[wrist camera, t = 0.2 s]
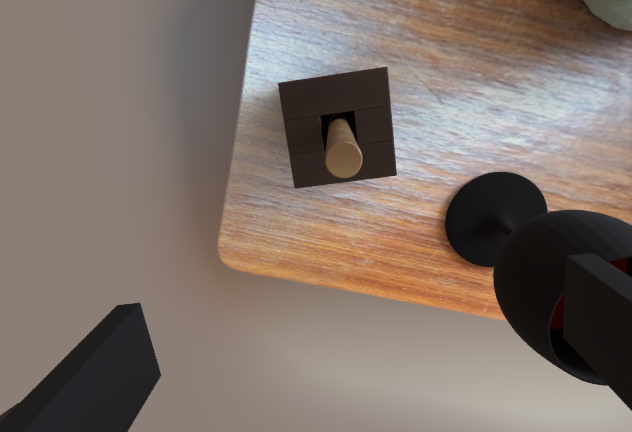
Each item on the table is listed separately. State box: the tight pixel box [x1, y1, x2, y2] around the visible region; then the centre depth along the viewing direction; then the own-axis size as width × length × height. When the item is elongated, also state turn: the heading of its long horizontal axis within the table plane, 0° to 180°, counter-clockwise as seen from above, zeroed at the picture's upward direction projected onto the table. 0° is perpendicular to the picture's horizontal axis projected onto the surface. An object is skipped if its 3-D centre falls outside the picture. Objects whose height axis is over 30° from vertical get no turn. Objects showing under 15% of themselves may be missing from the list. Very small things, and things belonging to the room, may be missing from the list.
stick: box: [325, 115, 362, 178], centre depth 30 cm, size 2×2×22 cm
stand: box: [278, 67, 397, 188], centre depth 38 cm, size 9×9×7 cm
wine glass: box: [445, 172, 632, 385], centre depth 34 cm, size 10×10×20 cm
